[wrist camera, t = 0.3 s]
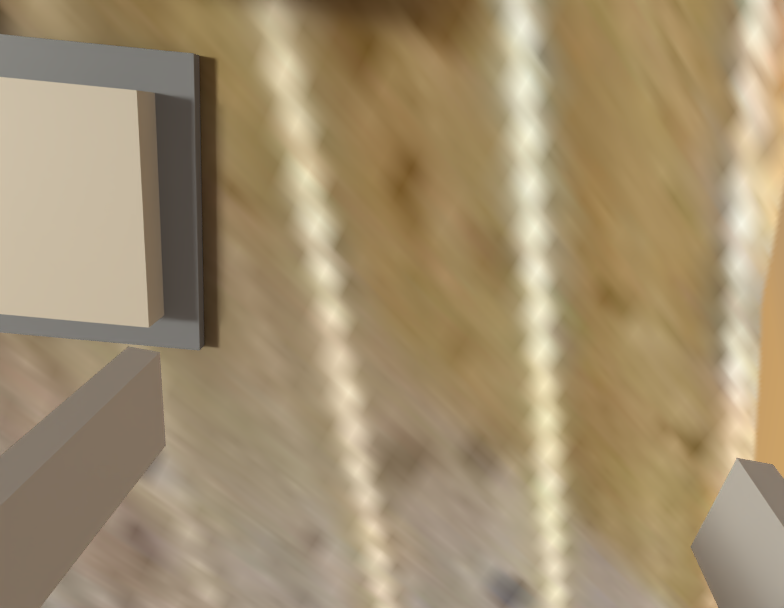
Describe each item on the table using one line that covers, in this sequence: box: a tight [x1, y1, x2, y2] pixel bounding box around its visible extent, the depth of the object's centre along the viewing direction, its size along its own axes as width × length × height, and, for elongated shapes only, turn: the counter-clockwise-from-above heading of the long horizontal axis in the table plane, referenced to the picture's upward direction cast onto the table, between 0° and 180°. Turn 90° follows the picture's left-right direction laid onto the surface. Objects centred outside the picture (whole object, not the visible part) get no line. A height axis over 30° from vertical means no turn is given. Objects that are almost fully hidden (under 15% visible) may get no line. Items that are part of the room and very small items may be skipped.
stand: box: [0, 34, 204, 350], centre depth 36 cm, size 20×24×4 cm
